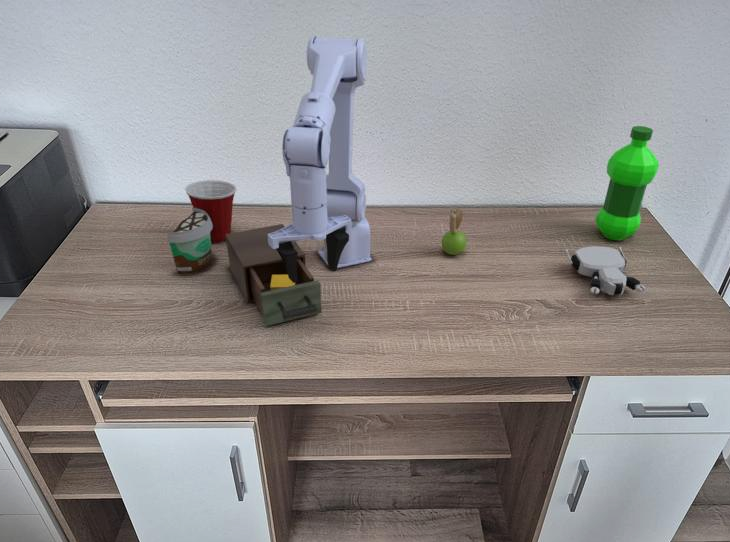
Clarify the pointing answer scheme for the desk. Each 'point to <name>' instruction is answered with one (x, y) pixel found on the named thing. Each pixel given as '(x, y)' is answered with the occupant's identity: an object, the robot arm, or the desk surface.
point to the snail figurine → (454, 235)
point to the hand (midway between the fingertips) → (312, 274)
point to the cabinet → (253, 253)
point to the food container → (192, 243)
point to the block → (280, 282)
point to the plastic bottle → (627, 186)
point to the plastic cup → (214, 204)
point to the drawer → (284, 293)
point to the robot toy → (604, 269)
